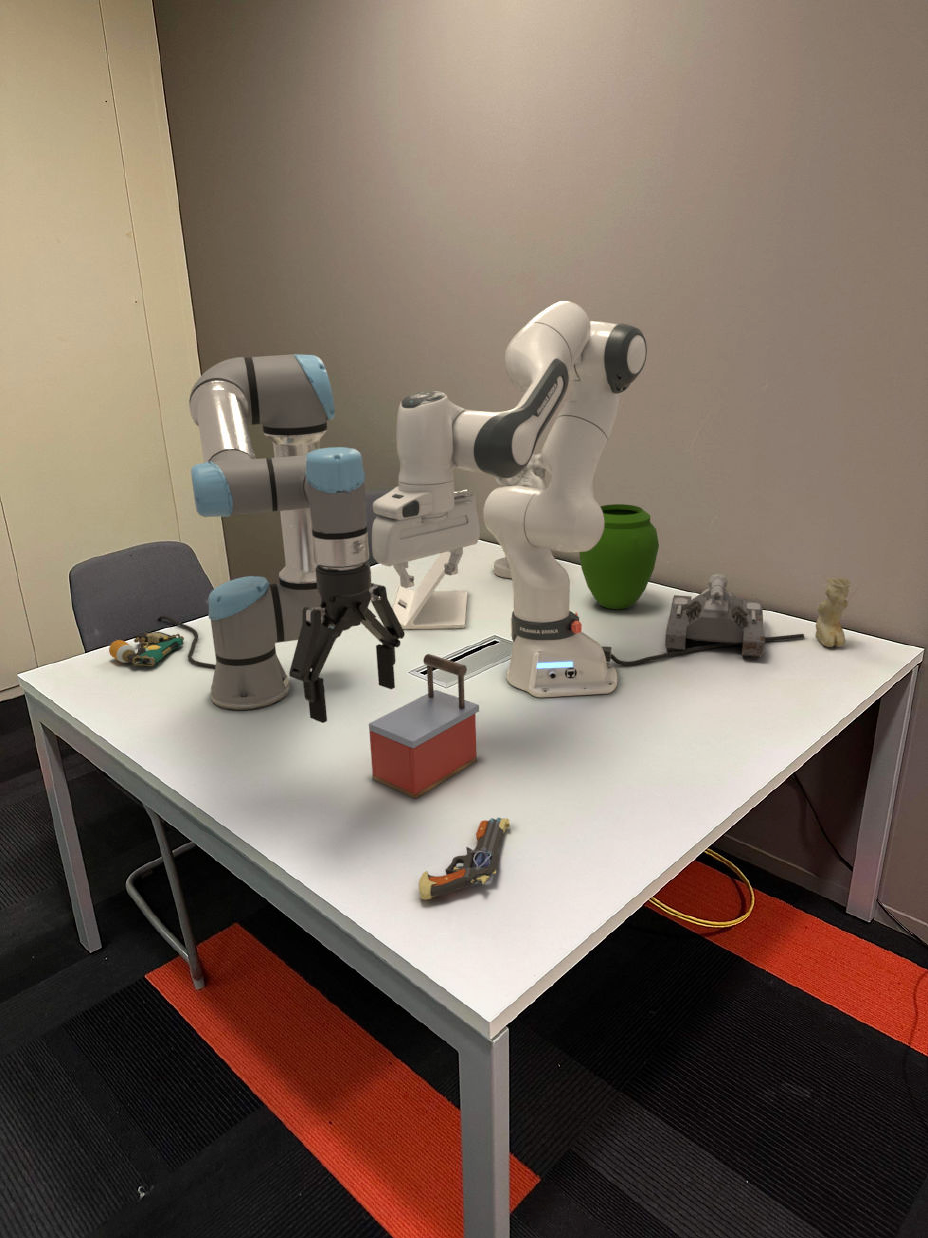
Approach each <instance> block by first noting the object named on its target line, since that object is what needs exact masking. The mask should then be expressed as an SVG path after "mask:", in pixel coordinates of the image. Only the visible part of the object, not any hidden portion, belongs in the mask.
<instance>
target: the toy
mask: <svg viewBox="0 0 928 1238" xmlns="http://www.w3.org/2000/svg"><path fill="white" fill-rule="evenodd" d="M728 583H729V581H728V579H727V577H726V575H724V574H723V573H714V574H713V575H711V576H710V577H709V579H708V581H707V584H708V587H707V589H705V590H703V591H701V593H699V594H698V595H696V596H695V597H694V598H692V596H691V595H677V594H674V595H673V597H672V602H671V607H670V610H669V615H668V620H667V625H666V630H665V643H664V646H665V648H666V652H673V651H678V650H684V649H686V643H687V639H688V640H691V641H697V642H698V641H700V642H713V643H741V642H742V644H741V656H742V657H752V658H753V657H754V658H761V657H763V653H764V648H765V642H764V638H765V625H764V624H765V623H764V609H763V601H762V600H751V599H743V600H742V601H741V600H740V599H739V598H738V597H737V596H736V595H734V594H733V593H732V592H730V591H729V590H727V589H726V588H727V587H728Z"/></svg>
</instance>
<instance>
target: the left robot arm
mask: <svg viewBox="0 0 928 1238" xmlns="http://www.w3.org/2000/svg"><path fill="white" fill-rule="evenodd" d="M188 402H189V412H190V415H191V419H192V420H193V422H194V423H195V425H196V426H197V427H198V433H199V438H200V439H199V440H200V445H201V452H202V459H203V463H197V464H195V465H193V466H192V467H191V469H190V473H191V483H192V489H193V496H194V497H193V498H194V503H195V504H194V505H195V509H196V512H197V514H198V515H199V516H201V517H203V518H217V517H219V518H220V517H222V518H229V517H233V516H242V515H252V514H261V513H262V514H263V513H270V512H280V513H279V514H280V524H281V532H282V542H283V553H284V559H285V560H284V562H285V564H284V567H283V568H282V569H281V570H280V571H279V573H278V581H279V582H275V583H270V582H269V581H268V579H267V578H266V577H264V576H261V575H257V576H254V575H249V576H242V577H238V578H234V579H230V580H228V581H226V582H223V583H221V584H220V585H218V586H216V587H214V588H213V589H212V590H211V592H210V593H209V595H208V600H207V601H208V602H207V603H208V619H209V620H210V625H211V632H212V641H213V648H214V656H215V664H214V663H206V662H201V661H198V660H195V659H194V658H193V657H192V655H193V653H194V650H195V648H196V643H197V641H198V639H199V633H198V631H197V630H196V629H195V628H193V627H191V626H189V625H187V624H185V623H181V622H179V621H177V620H175V619H174V618H172V617H169V616H168V615H160V616H159V617H157V622H160V621H162V620H167V621H169V622H171V623H173V624H175V625H176V626H178V627H181V628H184V629H186V630H189V631H191V632H192V633H193V634H194V638H193V640H192V643H191V645H190V649H189V651H188V654H187V658H188V661H189V662H191V663H192V664H194V665H197V666H199V667H205V668H212V669H214V672H213V678H212V682H211V683H212V684H211V686H210V695H211V701H212V703H214V705H216V706H217V707H220V708H222V709H226V710H232V711H233V710H234V711H246V710H255V709H261V708H264V707H267V706H270V705H273V704H276V703H277V702H279V701H281V700H283V699H284V698H285V697H286V696H287V695H288V694H289V692H290V680H289V678H288V676H289V677H290V678H291V679H295V680H297V681H301V682H302V686H303V695H304V699H305V700H306V701H308V709H309V716H310V717H309V718H310V719H313V720H314V721H317V722H319V723H322V724H324V723H326V722H328V716H327V705H326V695H325V683H324V678H323V677H319V676H320V674H321V673H322V670H323V668H324V665H325V664H326V661H327V659H328V657H329V656H330V653H331V651H332V649H333V646H334V645H335V643H336V640H337V638H340V637H341V635H342V633H343V631H345V632H346V631H347V630H350V629H351V628H352V627H357V626H360V625H361V624H362V625H363V626H364V628H366V629H367V630H368V632H370V633H371V635H373V637H375V638H376V640H377V641H378V642H380V643H381V644H380V643H378V644H376V645H375V653H376V666H377V679H378V681H377V682H378V686H380V687H383V688H386V689H388V690H393V689H395V688H396V683H395V682H396V681H395V669H394V668H395V667H394V666H395V664H396V660H397V659H396V648H399V647H400V645H401V640H400V639H404V638H405V634H406V633H405V629H403V628H402V627H401V625H400V623H399V621H398V619H397V617H396V615H395V613H394V611H393V609H392V607H393V606H392V605H391V603H390V601H389V599H388V594H387V593H388V592H387V588H386V586H385V585H381V584H378V583H373V582H372V571H371V570H372V569H371V564H370V562H368V561H369V559H370V545H369V533H368V519H367V505H366V490H365V486H366V485H365V480H366V472H365V471H364V464H363V456H362V454H361V452H360V451H358V450H357V449H356V448H350V447H345V446H344V447H343V446H340V447H339V446H337V447H336V446H335V447H334V446H333V447H332V446H331V447H323V448H321V439H322V437H323V436H324V435H325V434H326V433H327V432H328V421H332V420H333V419H335V416H336V411H335V410H336V409H335V400H334V394H333V390H332V385H331V382H330V378H329V374H328V371H327V369H326V366H325V363H324V362H323V360H322V359H321V358H320V357H319V356H317V355H315V354H297V353H293V354H292V353H291V354H279V355H263V356H247V357H244V356H240V357H239V356H238V357H232V358H228V359H225V360H222V361H220V362H218V363H216V364H214V365H213V366H211V367H210V368H208V369H207V370H205V372H203V373H202V374H201V376H199V378H198V379H197V380H196V381H195V383H194V385H193V386H192V389H191V392H190V395H189V401H188ZM249 425H252V426H255V425H262V433H263V435H264V436H265V437H266V438H267V439H269V440H270V441H271V442H272V446H273V455H274V457H266V458H264V457H263V458H257V457H256V454H255V451H254V447H253V443H252V438H251V434H250V430H249ZM370 602H371V603H370ZM370 604H372V606H373V608H374V610H375V612H376V614H377V616H378V618H379V619H380V621H379V620H378V619H377V618H376V615H375V614H374V613H373V612H372V610H370V608H369V606H370ZM294 641H297V642H296V645H295V649H294V654H293V657H292V662H291V665H290V667H289V668H290V669H289V673H288V674H287V673H286V671H285V669H284V667H283V665H282V662H281V661H280V659H279V656H278V655H277V648H276V644H278V643H285V642H294Z"/></svg>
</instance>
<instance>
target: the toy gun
mask: <svg viewBox="0 0 928 1238" xmlns="http://www.w3.org/2000/svg"><path fill="white" fill-rule="evenodd" d="M508 828H509V829H510V828H511V826H510V819H509V818H508V817H507V818H501V817H496V819H495V818H493V817H492V818H490V819H489V820H481V821H480V823H479V825H478V828H477V831H476V833H475V837H476V841H477V844H476V846H475V848H474V849H472V848H470V847H469V846H466V847H465V849H466V854H465V855H457V856H454V857H453V858H452V861H451V863H450V864H449V865H448V866H447V868H445V875H440V876H439V875H430V874H429V873H428V871H427V870H425V871H424V872H423V873H422V875H421V876H420V879H419V881H418V890H419V896H420V899H421V900H430V899H433V898H434V897H439V896H443V895H447V894H449V893H452V892H454V891H458V890H460V889H465V888H467V887H470V886H472V885H474V884H476V883H478V882H481V884H482V885H484V884H486V883H487V881H488V880H489V879H490V876H492V875H494V874H495V875H496V874H497V870H498V867H499V863H500V848H501V845H502V840H503V838H504V835H505V832H506V829H508ZM458 864H462V867H460V868H458V867H457V865H458Z"/></svg>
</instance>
